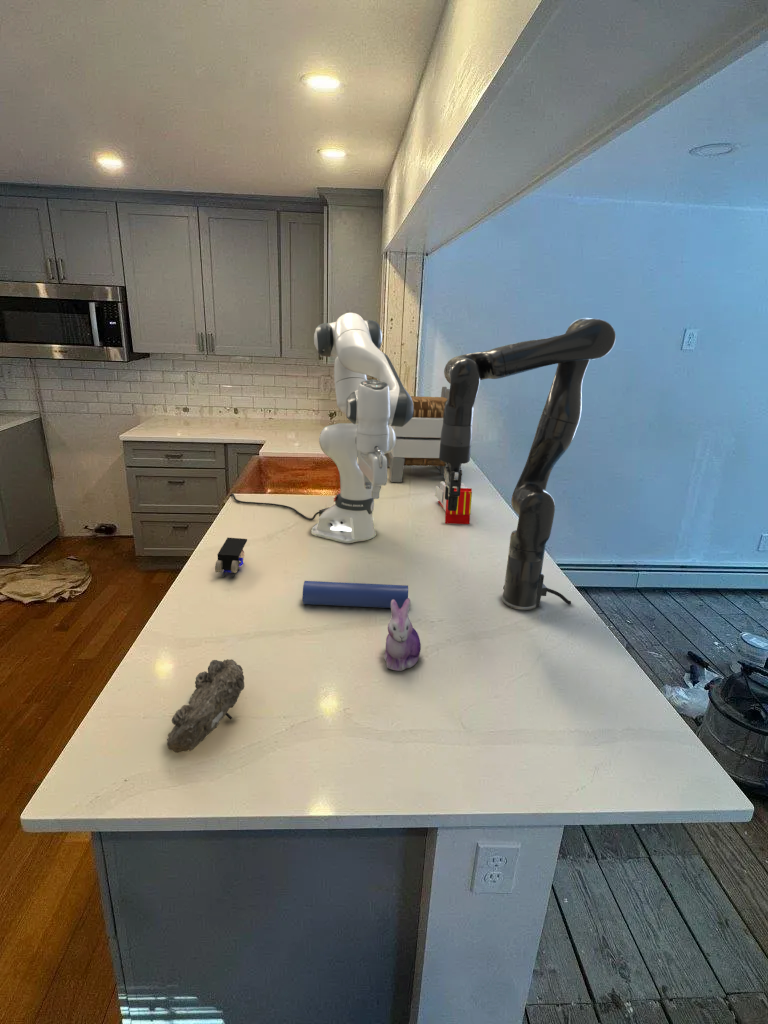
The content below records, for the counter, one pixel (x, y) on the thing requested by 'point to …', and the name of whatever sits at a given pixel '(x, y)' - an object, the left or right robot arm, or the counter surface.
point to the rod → (353, 594)
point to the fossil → (206, 705)
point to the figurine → (401, 639)
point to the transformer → (419, 437)
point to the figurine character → (230, 556)
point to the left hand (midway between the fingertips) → (371, 493)
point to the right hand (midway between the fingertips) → (450, 504)
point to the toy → (462, 505)
